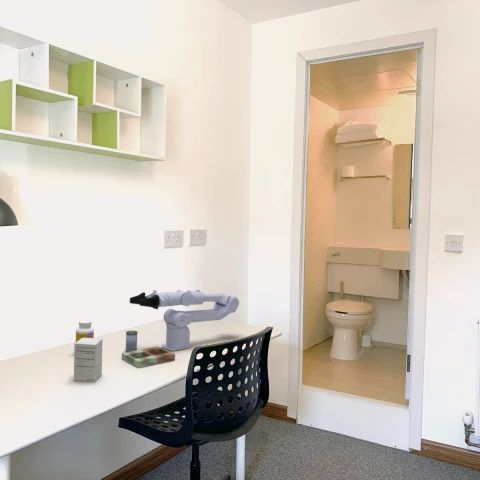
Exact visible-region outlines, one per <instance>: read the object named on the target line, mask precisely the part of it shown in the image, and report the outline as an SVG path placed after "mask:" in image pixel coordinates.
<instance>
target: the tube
mask: <svg viewBox="0 0 480 480" xmlns="http://www.w3.org/2000/svg"><path fill="white" fill-rule="evenodd" d="M138 333H139V331H137V330H126V331H125V352H131V351H136V350H138Z"/></svg>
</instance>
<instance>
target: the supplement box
mask: <svg viewBox="0 0 480 480" xmlns="http://www.w3.org/2000/svg"><path fill="white" fill-rule="evenodd" d="M73 348H74V349H73V352H74V353H73V381H74V382H75V381H76V382H89V383H90V382H91V383H96V381H97V380H98V379H99V378H100V377H101V376H102V372H103V371H102V369H103V338H96V337H95V338H81V339H80V340H79V341H77V342H76V341H75V342H74V347H73Z"/></svg>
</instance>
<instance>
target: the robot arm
mask: <svg viewBox="0 0 480 480" xmlns="http://www.w3.org/2000/svg"><path fill="white" fill-rule="evenodd" d="M205 302H208V303H211V302H213V303H214V305H213V307H212V308H210V309H209V308H208V309H199V310H198V309H197V310H176V309H173V308H169V309H167V310H166V311H165V312H164V313H163V321H164V322H165V326H166V331H165V332H166V335H165V337H166V338H165V344H162V345H161V348H163V349H165V350H166V349H167V351H170V352H175V351H179V350H184V349H185V350H186V349H189V348H191V346H190V338H191V337H190V336H191V333H190V331H191V330H190V328H189V327H188V325H189V326H191V325H190V324H191V323H201V322H202V323H203V322H211V321H220V320H223V319H224V318H226V317H227V316H229V315H230V314H234V313H235V312H237V310H238V307H239V305H240V301H239V298H238V297H237V296H232V295H228V294H226V293H220V292H218V293H216V292H215V293H204V291H201V290H200V289H195V291H194V290H193V291H192V290H188V289H187V290H186V291H184V290H180V289H179V290H176V291H169V292H158V291H157V290H155V289H154V290H153V291H152V293H150V294H148V295H146V292H145V291H143V292H141V293H140V294H138V295H135V296H132V297H129V304H133V305H139V306H140V307H147V308H151V309H155V310H159V308H164V307H175V306H184V307H189V306H193V305H194V306H195V305H203V304H204V303H205Z"/></svg>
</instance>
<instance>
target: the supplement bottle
mask: <svg viewBox="0 0 480 480" xmlns="http://www.w3.org/2000/svg"><path fill="white" fill-rule="evenodd" d="M94 331H95V330H94V328H93V327H92V320H88V319H85V320H84V319H83V320H79V321H78V327H77V328H76V330H75V343H76V342H77V341H79V340H80V339H81V338H94V335H95V332H94Z"/></svg>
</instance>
